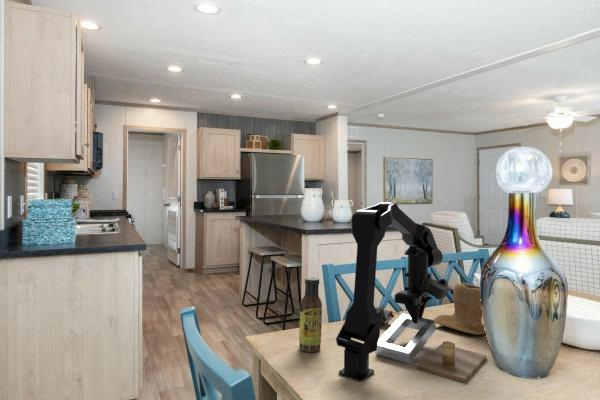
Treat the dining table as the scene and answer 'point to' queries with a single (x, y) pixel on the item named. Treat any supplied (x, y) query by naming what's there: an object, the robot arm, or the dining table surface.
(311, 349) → the sauce bottle
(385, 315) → the sundae
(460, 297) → the tan boot
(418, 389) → the dining table surface
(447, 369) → the plate
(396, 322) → the steel link
